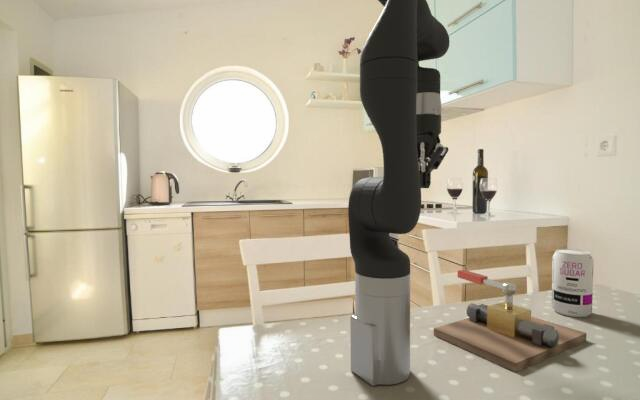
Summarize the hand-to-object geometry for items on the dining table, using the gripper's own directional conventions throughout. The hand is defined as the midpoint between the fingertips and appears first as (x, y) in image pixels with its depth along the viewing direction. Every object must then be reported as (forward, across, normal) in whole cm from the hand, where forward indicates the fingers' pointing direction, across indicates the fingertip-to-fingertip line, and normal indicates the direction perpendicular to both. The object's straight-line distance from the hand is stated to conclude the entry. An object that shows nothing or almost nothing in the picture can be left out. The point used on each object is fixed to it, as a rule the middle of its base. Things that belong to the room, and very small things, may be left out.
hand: (424, 188), depth 90 cm
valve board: (+31, +19, +5) cm, 36 cm away
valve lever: (+21, +13, +6) cm, 25 cm away
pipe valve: (+31, +19, +5) cm, 36 cm away
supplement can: (+31, +18, +32) cm, 48 cm away
